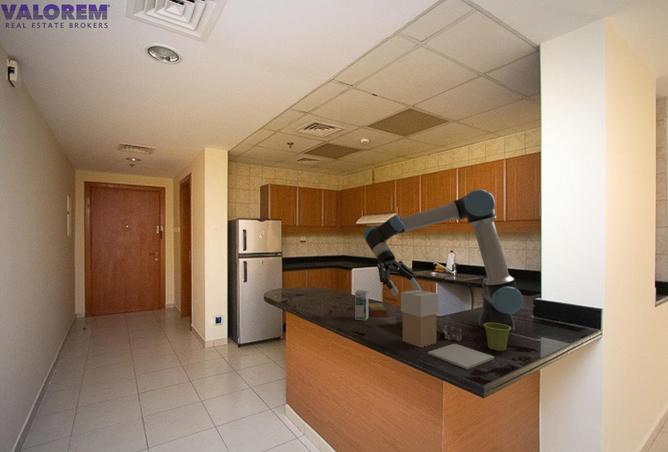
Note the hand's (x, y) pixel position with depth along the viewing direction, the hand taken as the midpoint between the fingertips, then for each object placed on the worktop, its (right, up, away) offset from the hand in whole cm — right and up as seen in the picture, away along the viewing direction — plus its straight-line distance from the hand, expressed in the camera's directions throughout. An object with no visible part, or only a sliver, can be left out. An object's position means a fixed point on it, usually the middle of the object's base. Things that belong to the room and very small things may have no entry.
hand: (408, 293), depth 135 cm
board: (+14, -19, -19) cm, 30 cm away
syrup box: (-17, -20, +31) cm, 40 cm away
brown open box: (+4, -19, -4) cm, 20 cm away
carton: (-8, -21, +43) cm, 48 cm away
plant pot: (+32, -19, -11) cm, 39 cm away
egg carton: (+20, -20, +3) cm, 28 cm away
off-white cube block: (+4, -9, -4) cm, 10 cm away
